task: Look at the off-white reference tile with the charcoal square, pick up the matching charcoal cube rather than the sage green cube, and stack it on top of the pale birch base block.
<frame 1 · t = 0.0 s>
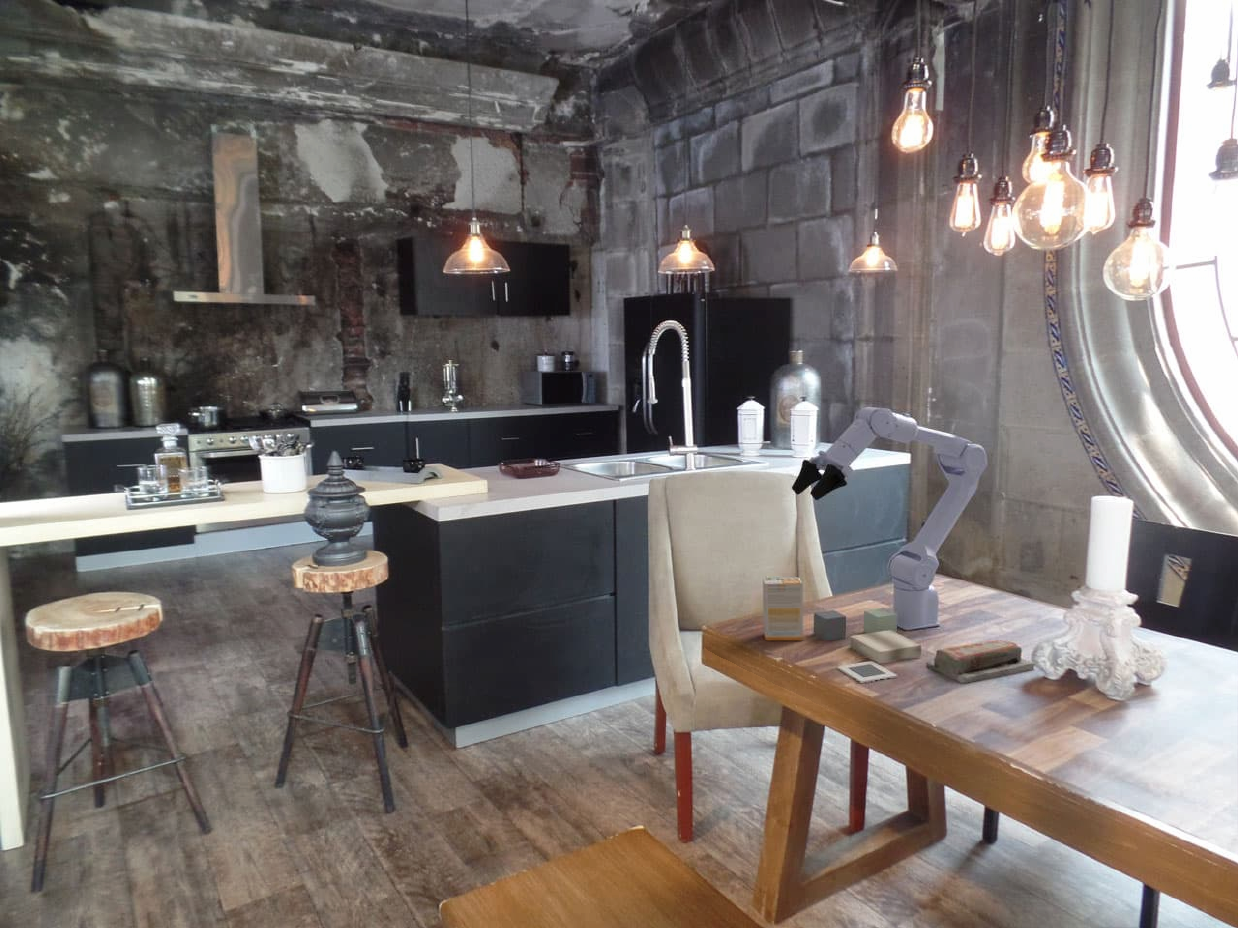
hand: (803, 494, 178), 32 cm above the table, tool tilted 50°, fingers open, 7 cm apart
charcoal block: (829, 636, 185), on the table
reference tile: (866, 672, 163), on the table
birch base block: (884, 654, 174), on the table
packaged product: (979, 670, 165), on the table
sage block: (880, 633, 185), on the table
supplement box: (782, 638, 184), on the table
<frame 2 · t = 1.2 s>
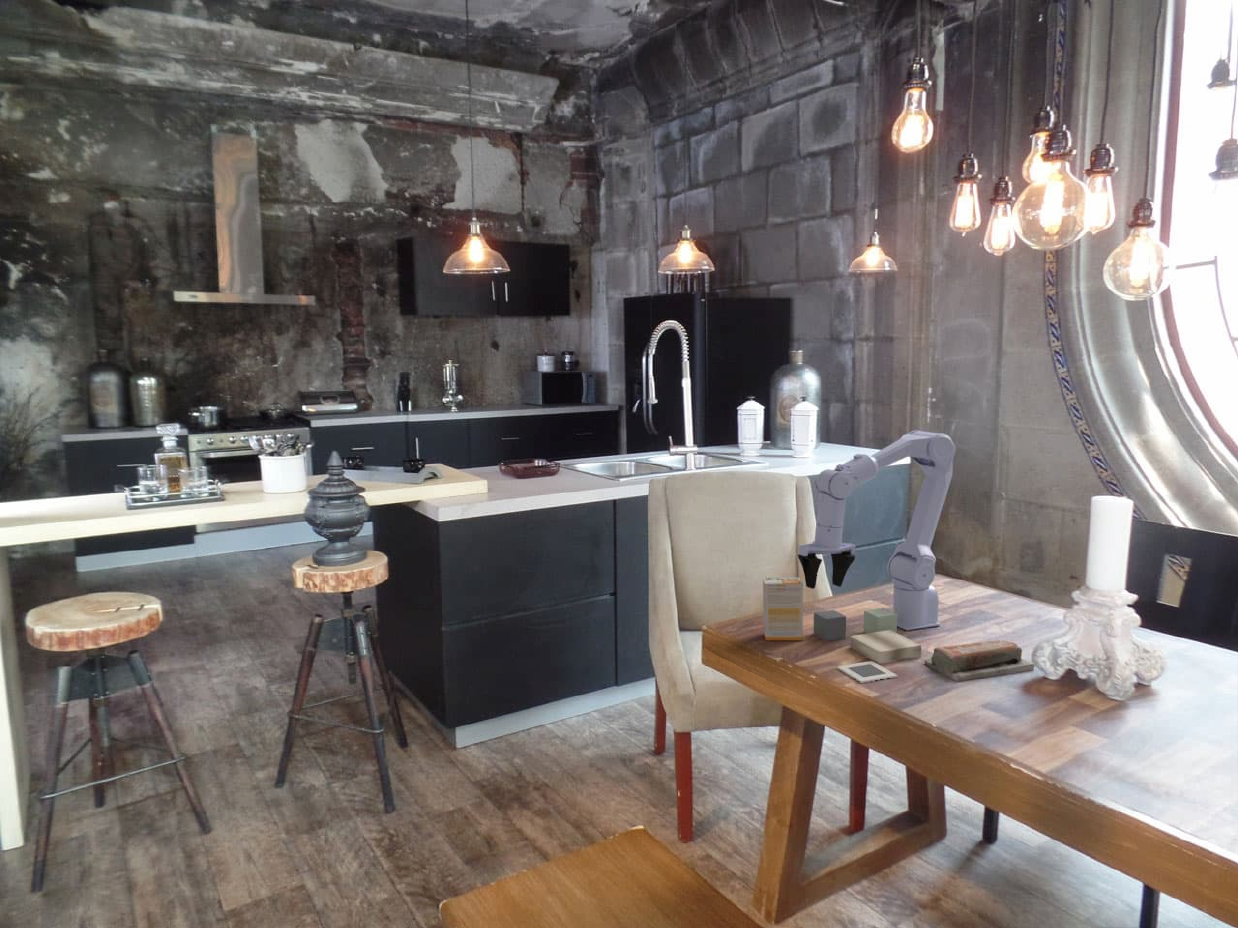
hand: (823, 586, 183), 11 cm above the table, tool pointing down, fingers open, 7 cm apart
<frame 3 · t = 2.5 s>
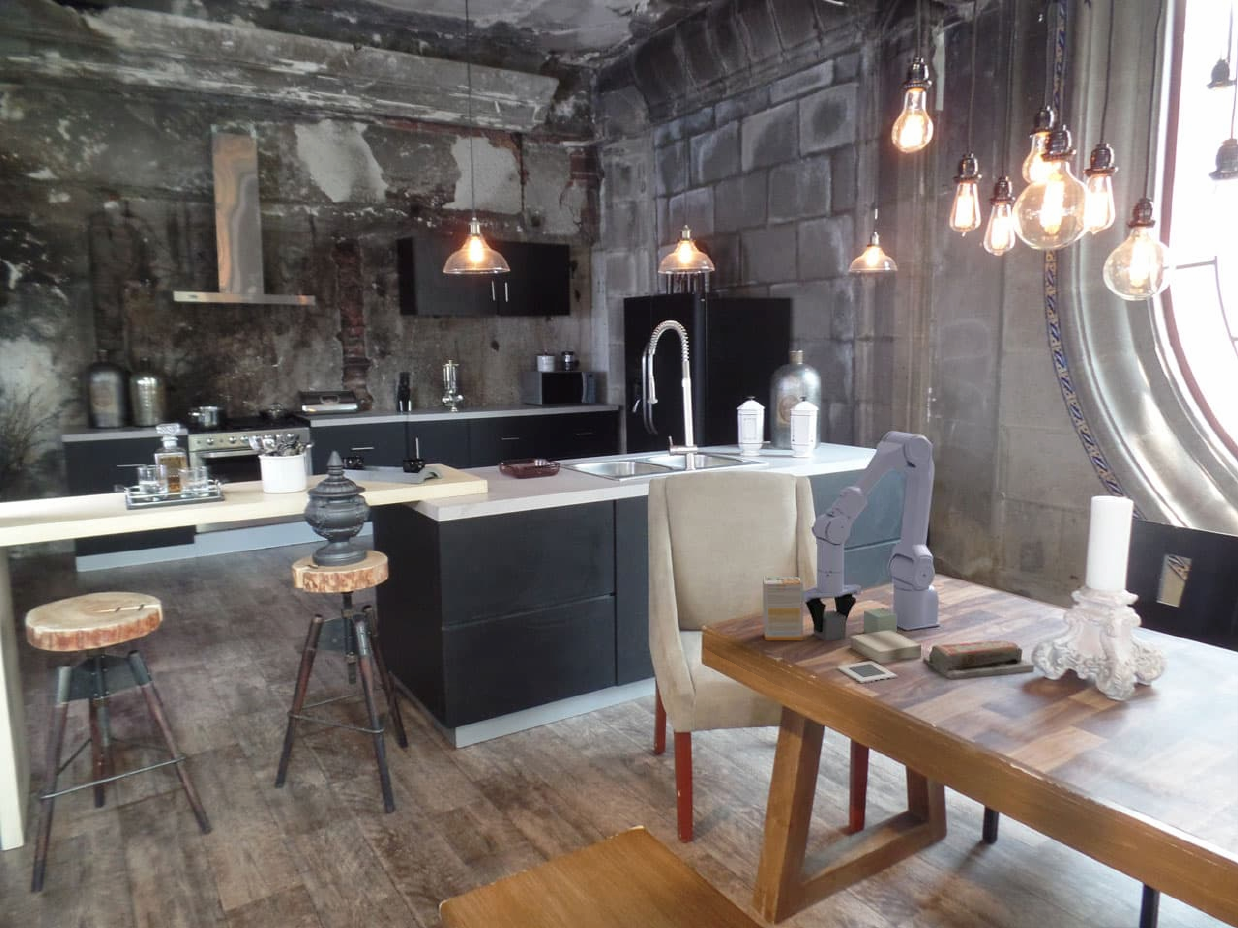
hand: (829, 629, 184), 1 cm above the table, tool pointing down, fingers open, 5 cm apart
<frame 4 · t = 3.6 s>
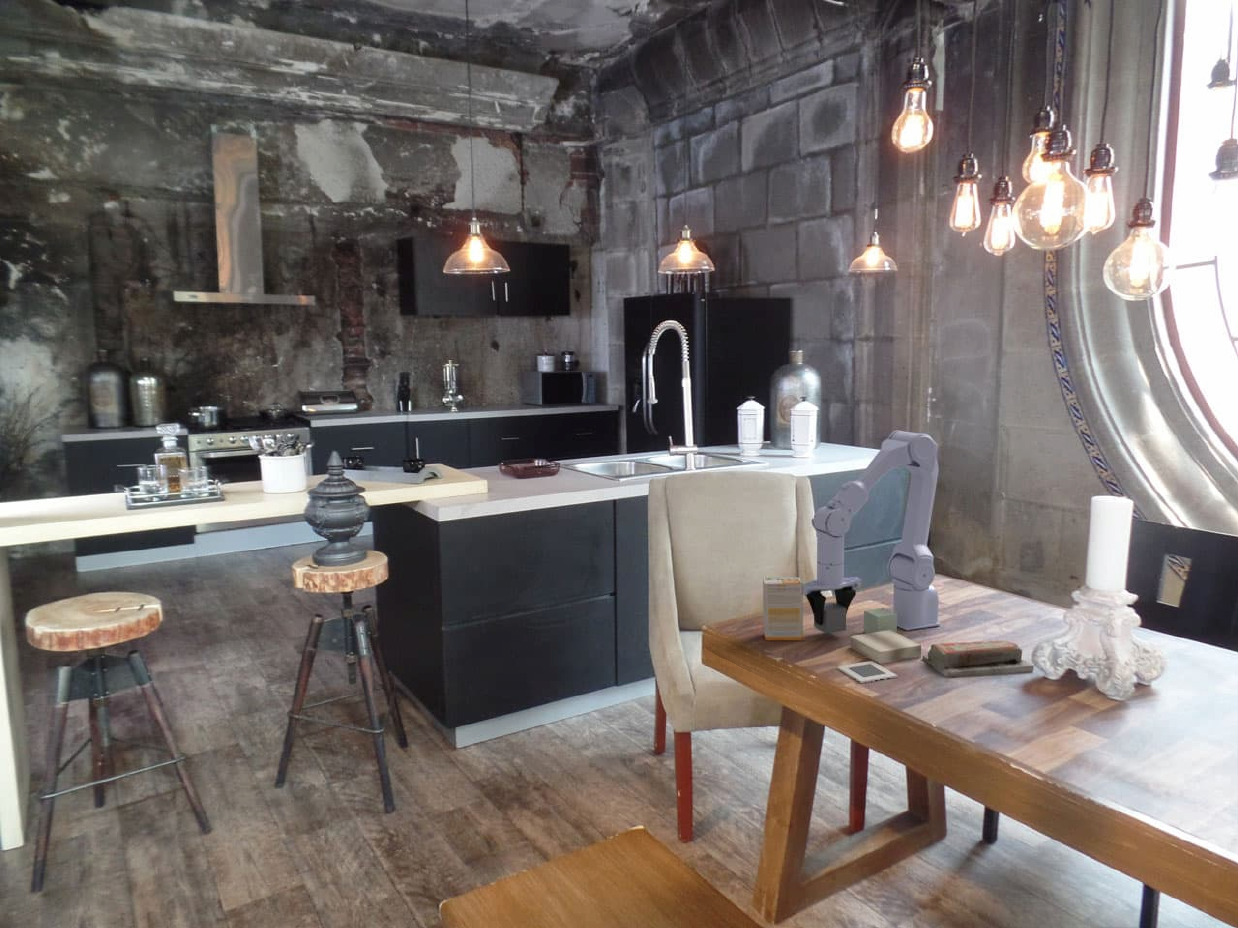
hand: (829, 621, 184), 3 cm above the table, tool pointing down, fingers closed on charcoal block, 5 cm apart
charcoal block: (829, 628, 184), point 2 cm above the table, touching gripper
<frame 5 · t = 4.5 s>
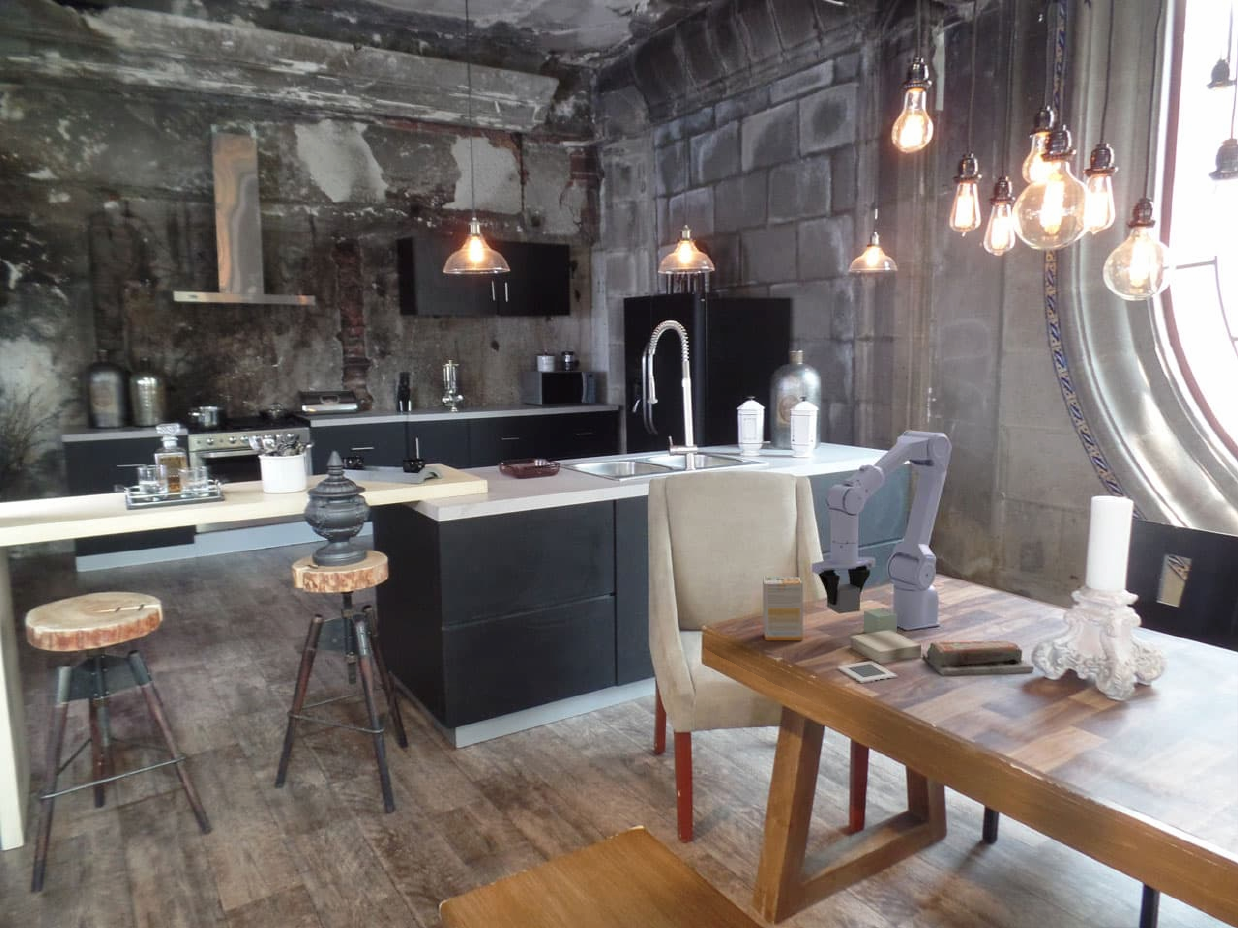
hand: (843, 602, 181), 8 cm above the table, tool pointing down, fingers closed on charcoal block, 5 cm apart
charcoal block: (843, 608, 181), point 7 cm above the table, touching gripper
when the fingers open (6 cm above the table, at t = 6.2 s): charcoal block drops 2 cm, resting on birch base block.
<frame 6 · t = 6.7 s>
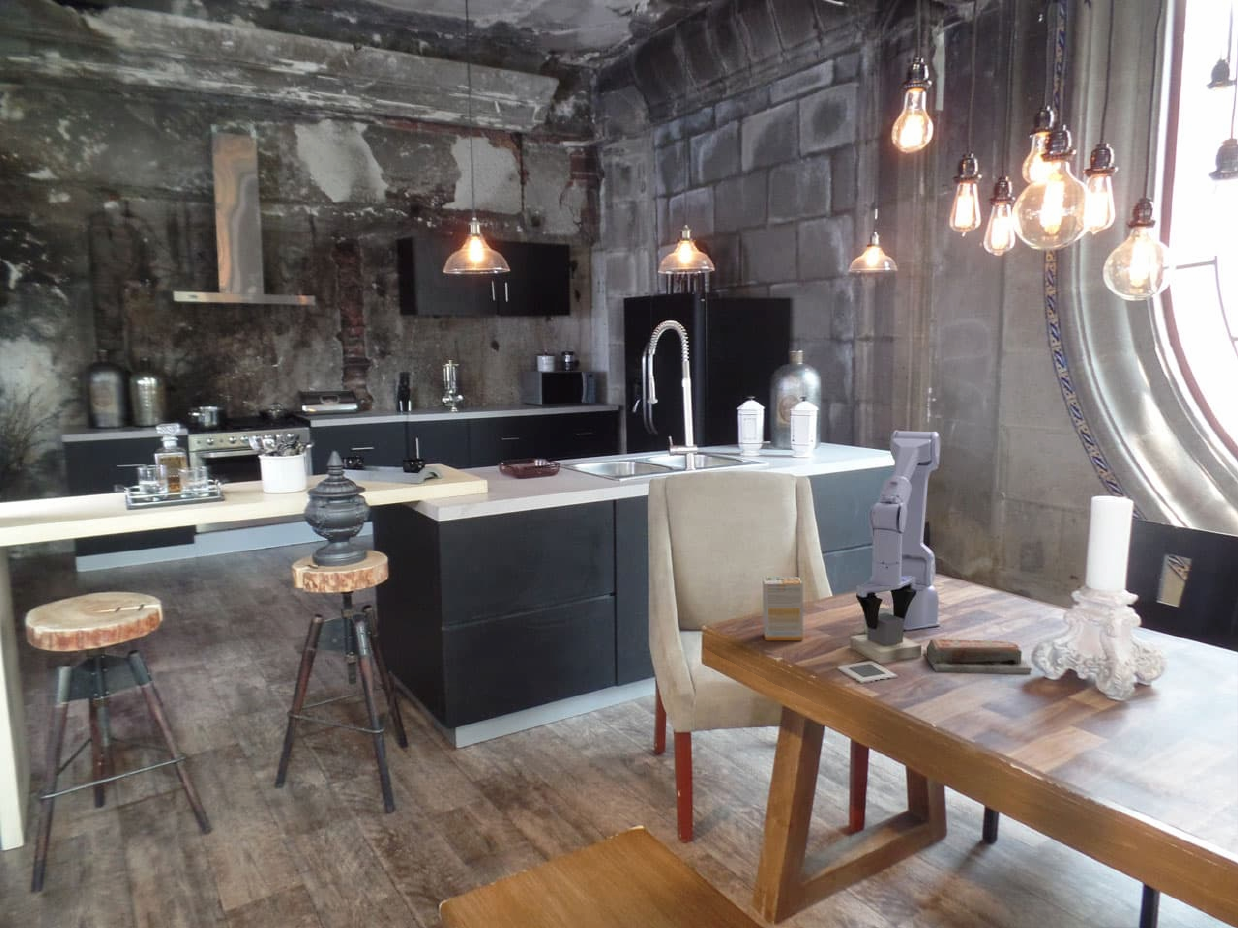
hand: (885, 624, 173), 6 cm above the table, tool pointing down, fingers open, 7 cm apart
charcoal block: (884, 640, 174), point 2 cm above the table, touching birch base block
birch base block: (884, 654, 174), on the table, touching charcoal block
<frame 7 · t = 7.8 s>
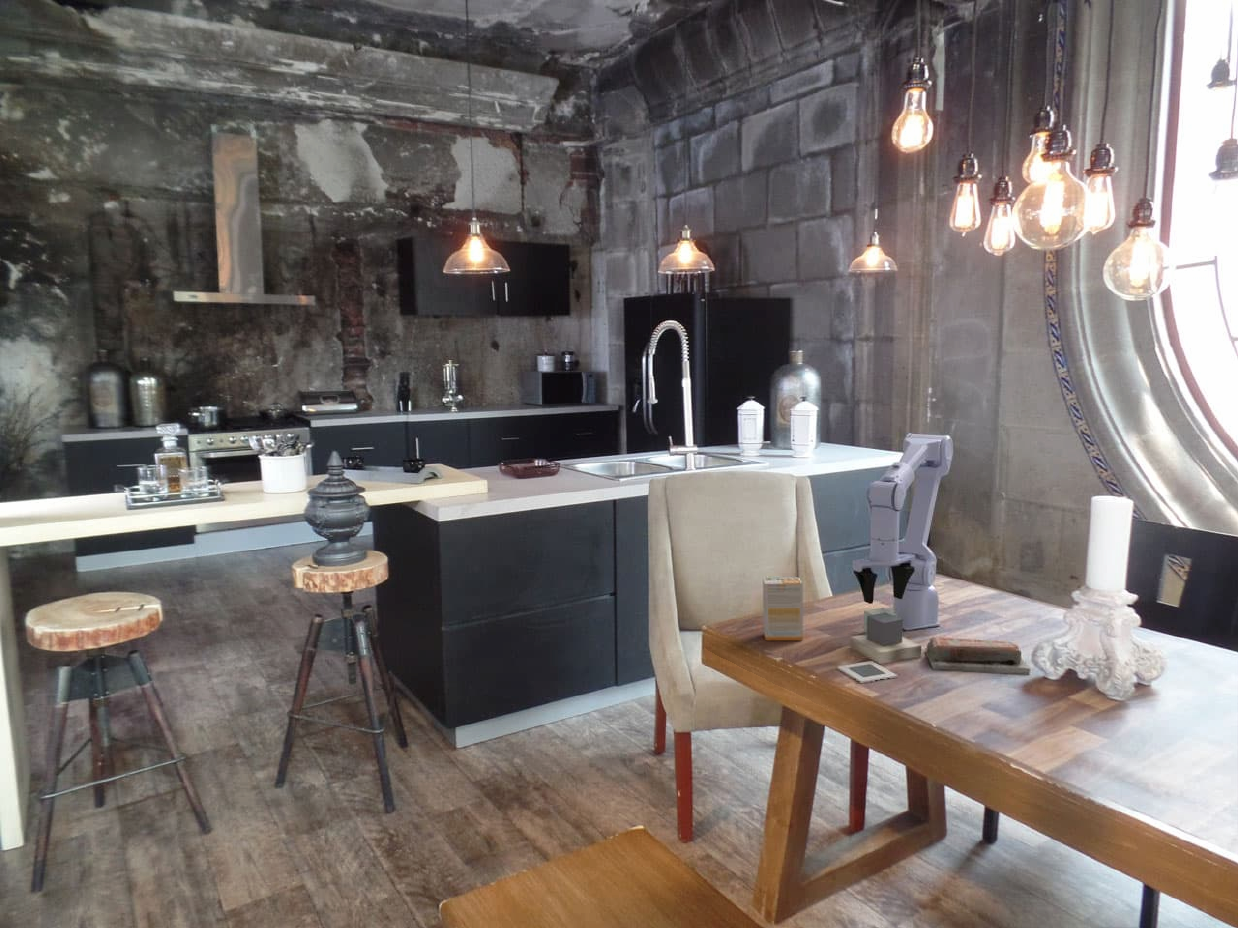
hand: (883, 600, 178), 9 cm above the table, tool pointing down, fingers open, 7 cm apart
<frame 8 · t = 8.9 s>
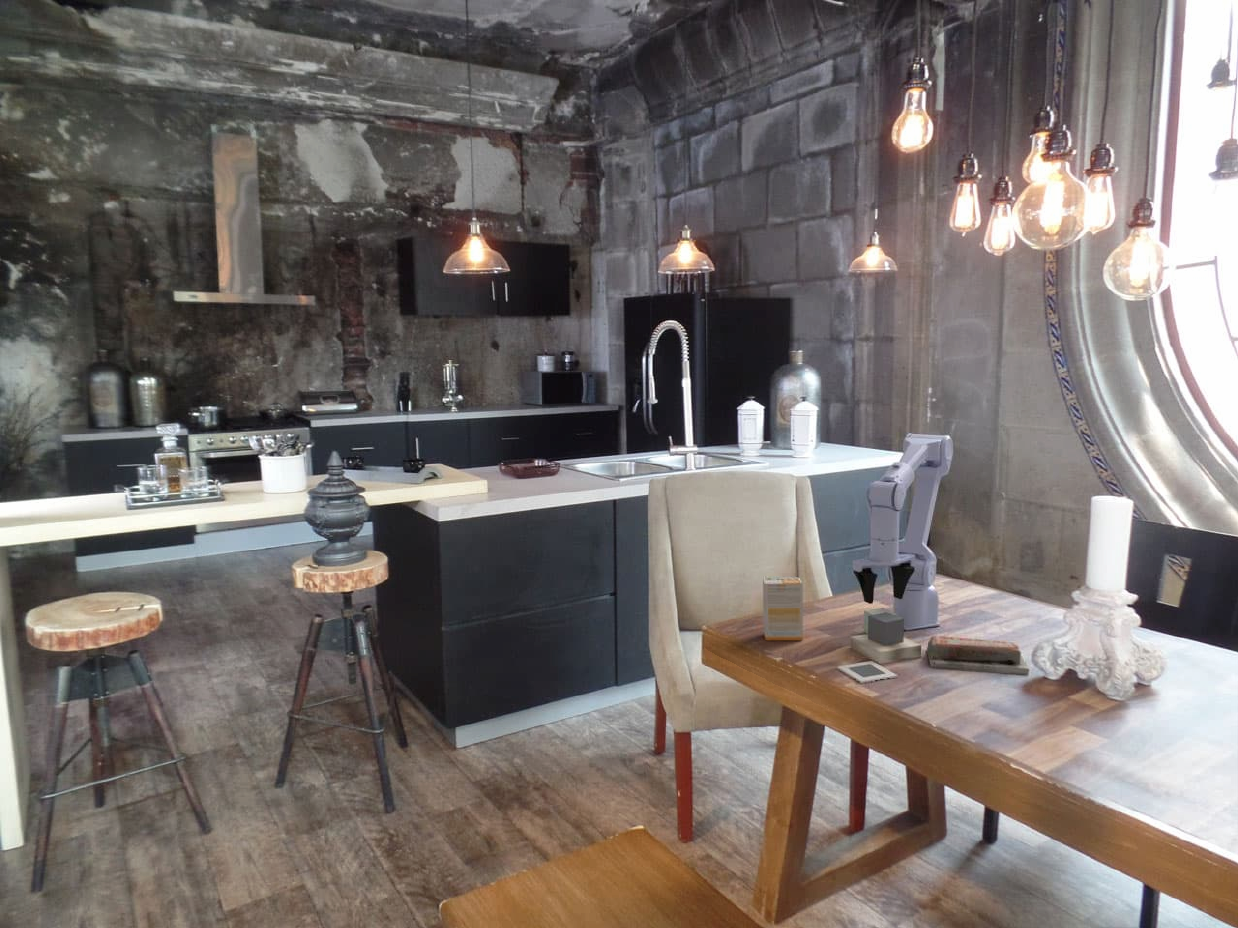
hand: (883, 600, 178), 9 cm above the table, tool pointing down, fingers open, 7 cm apart
at the end: charcoal block 0.2 cm off-centre on the birch base block, point 3.0 cm above the birch base block's base; charcoal block tilted 0°; sage block moved 0.1 cm from its start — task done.
